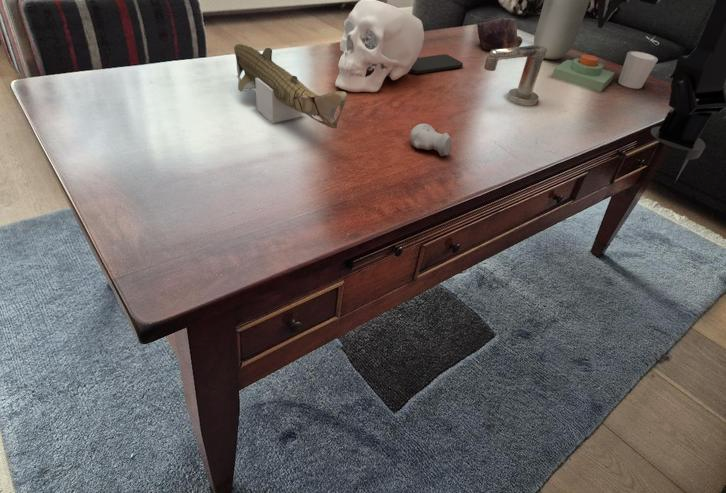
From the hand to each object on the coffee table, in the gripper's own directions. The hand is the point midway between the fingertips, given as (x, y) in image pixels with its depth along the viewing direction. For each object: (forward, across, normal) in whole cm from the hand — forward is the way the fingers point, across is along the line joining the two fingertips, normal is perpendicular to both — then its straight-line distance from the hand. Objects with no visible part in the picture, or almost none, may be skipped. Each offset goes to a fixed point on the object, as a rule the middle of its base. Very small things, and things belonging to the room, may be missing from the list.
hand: (600, 27), depth 110 cm
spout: (+4, +8, +29) cm, 31 cm away
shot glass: (+12, -10, -7) cm, 18 cm away
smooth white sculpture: (+12, +10, +60) cm, 61 cm away
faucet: (+12, +6, +24) cm, 28 cm away
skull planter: (+12, +34, +40) cm, 54 cm away
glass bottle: (+12, +12, -10) cm, 19 cm away
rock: (+12, +25, -3) cm, 28 cm away
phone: (+12, +30, +22) cm, 39 cm away
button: (+8, 0, 0) cm, 9 cm away
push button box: (+12, 0, 0) cm, 12 cm away
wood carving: (+12, +35, +68) cm, 77 cm away
